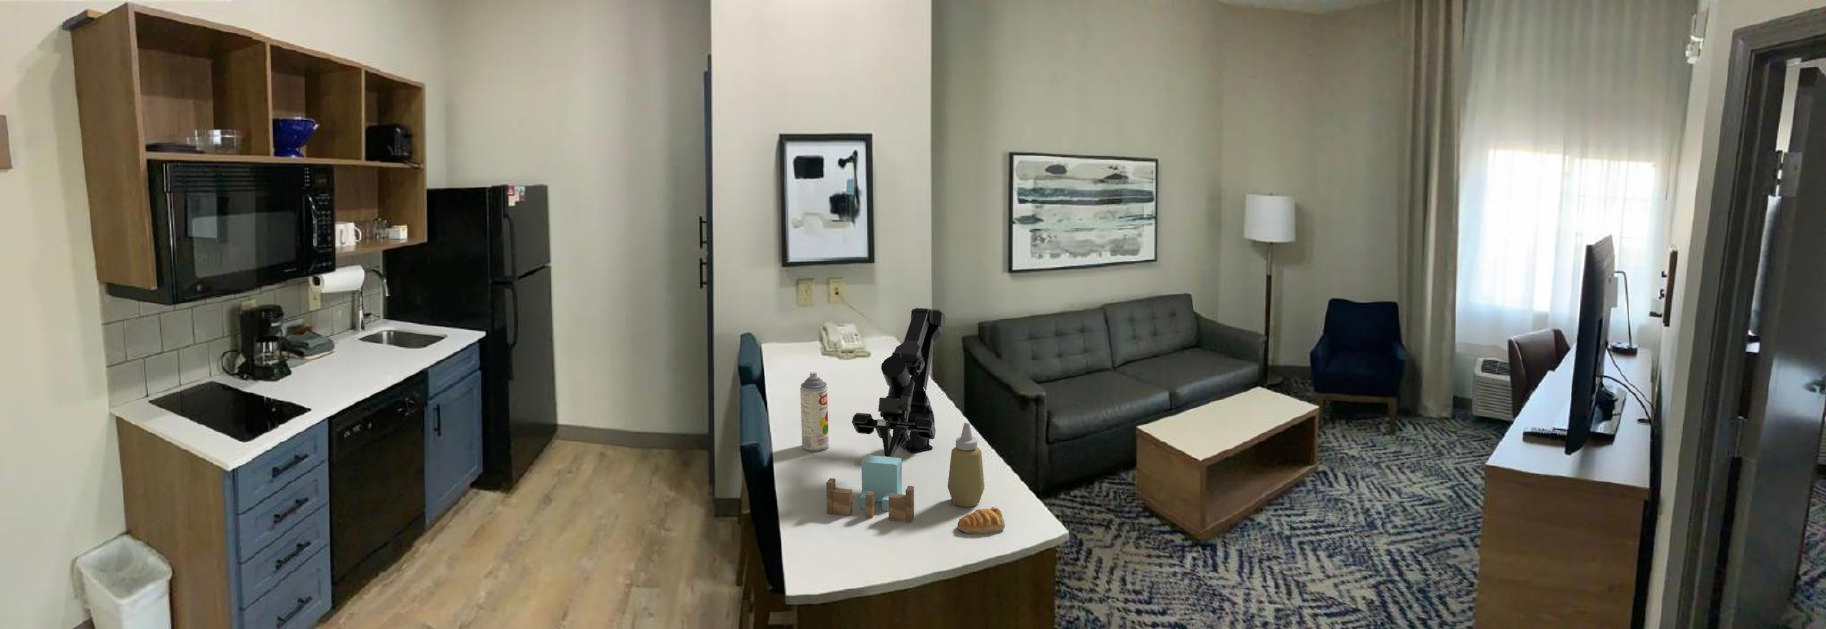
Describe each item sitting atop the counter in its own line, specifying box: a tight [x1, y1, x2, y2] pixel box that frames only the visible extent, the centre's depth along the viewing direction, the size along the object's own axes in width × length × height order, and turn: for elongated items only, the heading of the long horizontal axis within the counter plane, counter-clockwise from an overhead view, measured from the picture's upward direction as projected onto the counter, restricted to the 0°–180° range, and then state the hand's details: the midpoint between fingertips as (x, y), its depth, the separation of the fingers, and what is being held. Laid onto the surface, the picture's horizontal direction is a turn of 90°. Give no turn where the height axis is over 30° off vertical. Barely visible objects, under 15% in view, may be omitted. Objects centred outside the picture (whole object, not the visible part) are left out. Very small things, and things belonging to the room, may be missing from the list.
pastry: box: [957, 506, 1006, 535], centre depth 167 cm, size 9×7×4 cm
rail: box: [825, 477, 915, 523], centre depth 172 cm, size 2×18×7 cm, turn 76°
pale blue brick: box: [859, 454, 903, 512], centre depth 178 cm, size 8×8×9 cm
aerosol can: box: [799, 371, 830, 453], centre depth 210 cm, size 7×7×20 cm
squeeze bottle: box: [947, 422, 985, 508], centre depth 177 cm, size 8×8×18 cm
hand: (887, 459), depth 184 cm, fingers closed
